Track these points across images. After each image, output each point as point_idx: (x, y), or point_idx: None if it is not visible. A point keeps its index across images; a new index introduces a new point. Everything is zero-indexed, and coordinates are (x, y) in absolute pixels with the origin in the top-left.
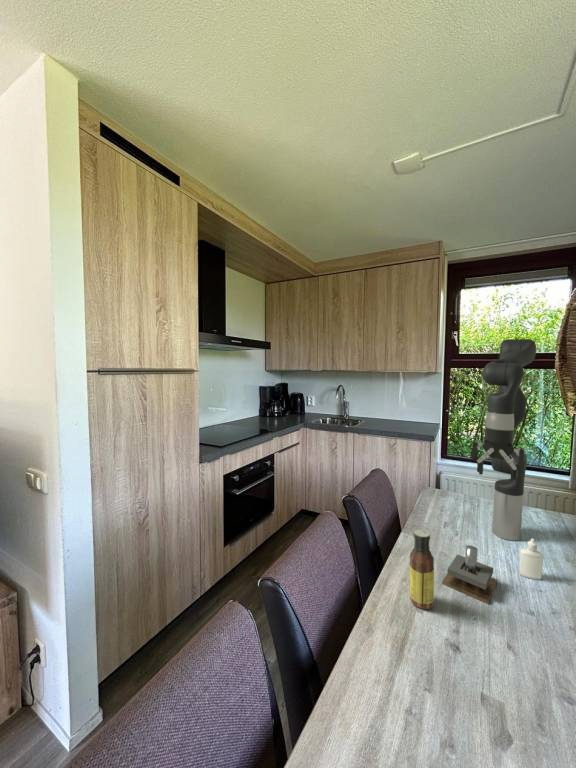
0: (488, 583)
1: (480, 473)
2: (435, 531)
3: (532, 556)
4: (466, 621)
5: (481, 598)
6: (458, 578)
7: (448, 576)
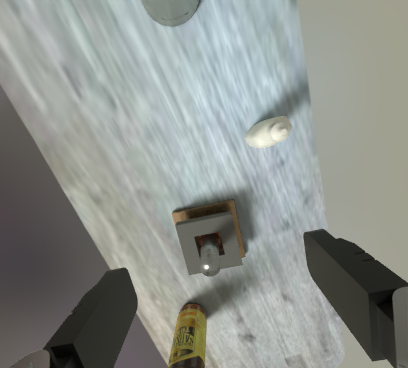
0: None
1: (130, 313)
2: (83, 131)
3: (276, 143)
4: (240, 299)
5: None
6: None
7: None
